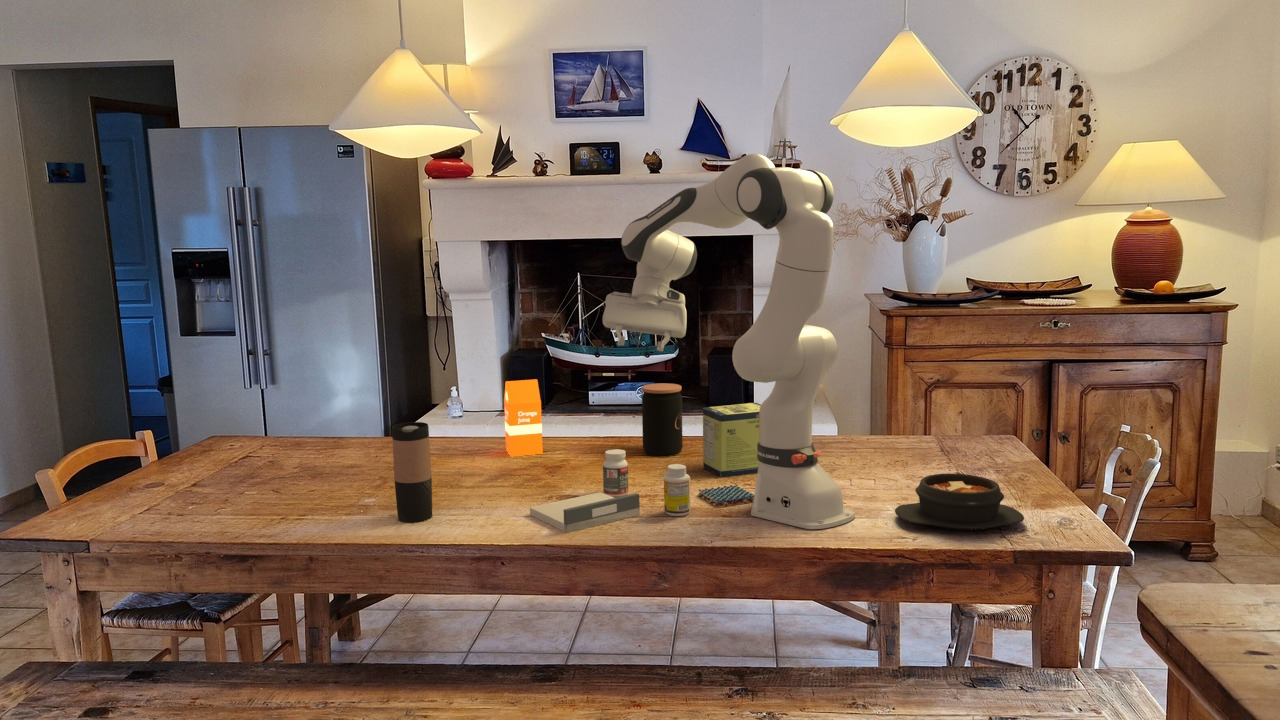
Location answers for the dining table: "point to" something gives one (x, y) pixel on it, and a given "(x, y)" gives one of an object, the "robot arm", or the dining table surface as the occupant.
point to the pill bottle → (615, 473)
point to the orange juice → (523, 418)
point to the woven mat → (726, 496)
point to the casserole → (959, 503)
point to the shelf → (587, 511)
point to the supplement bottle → (677, 491)
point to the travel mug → (412, 471)
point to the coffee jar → (662, 419)
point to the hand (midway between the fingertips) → (640, 347)
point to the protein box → (731, 439)
